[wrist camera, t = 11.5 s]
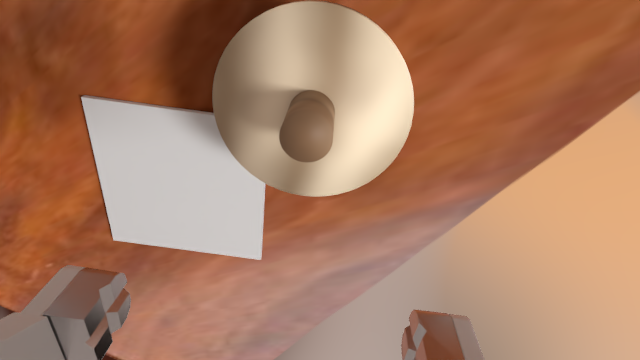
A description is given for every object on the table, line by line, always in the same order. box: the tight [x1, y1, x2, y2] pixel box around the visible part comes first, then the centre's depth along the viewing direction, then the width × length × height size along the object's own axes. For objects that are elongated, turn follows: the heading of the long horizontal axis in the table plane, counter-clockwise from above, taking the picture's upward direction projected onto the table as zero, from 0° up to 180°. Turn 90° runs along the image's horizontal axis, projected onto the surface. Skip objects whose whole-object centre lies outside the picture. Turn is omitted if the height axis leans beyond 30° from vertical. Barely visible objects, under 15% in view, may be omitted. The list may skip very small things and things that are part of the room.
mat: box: [81, 95, 265, 260], centre depth 36 cm, size 16×16×1 cm
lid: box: [212, 0, 414, 196], centre depth 22 cm, size 13×13×5 cm
